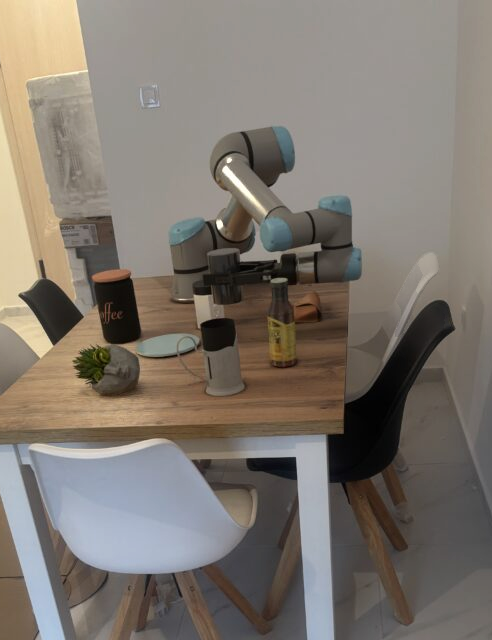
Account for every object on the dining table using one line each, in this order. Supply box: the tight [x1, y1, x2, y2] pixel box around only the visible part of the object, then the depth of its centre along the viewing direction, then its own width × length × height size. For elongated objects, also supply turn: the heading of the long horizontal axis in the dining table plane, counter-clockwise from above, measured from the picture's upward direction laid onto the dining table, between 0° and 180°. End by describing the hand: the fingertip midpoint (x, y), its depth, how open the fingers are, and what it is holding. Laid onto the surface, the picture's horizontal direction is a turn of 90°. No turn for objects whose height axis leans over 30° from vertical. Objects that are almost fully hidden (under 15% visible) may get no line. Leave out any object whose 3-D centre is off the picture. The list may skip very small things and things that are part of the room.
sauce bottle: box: [267, 278, 297, 368], centre depth 178 cm, size 7×6×20 cm
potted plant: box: [71, 343, 141, 397], centre depth 177 cm, size 12×13×15 cm
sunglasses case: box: [291, 290, 323, 324], centre depth 217 cm, size 18×7×7 cm, turn 176°
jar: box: [192, 280, 226, 330], centre depth 215 cm, size 9×8×12 cm
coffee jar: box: [91, 268, 142, 345], centre depth 212 cm, size 11×11×18 cm
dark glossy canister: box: [207, 248, 245, 306], centre depth 192 cm, size 8×8×12 cm
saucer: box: [135, 333, 201, 358], centre depth 204 cm, size 17×17×1 cm
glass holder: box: [176, 317, 246, 397], centre depth 168 cm, size 9×14×15 cm, turn 111°
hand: (207, 275), depth 192 cm, fingers closed on dark glossy canister, 8 cm apart
